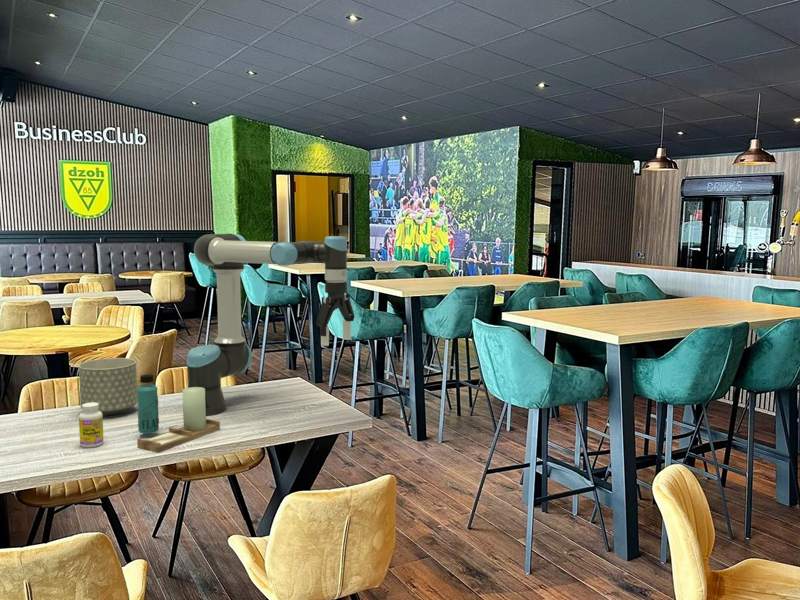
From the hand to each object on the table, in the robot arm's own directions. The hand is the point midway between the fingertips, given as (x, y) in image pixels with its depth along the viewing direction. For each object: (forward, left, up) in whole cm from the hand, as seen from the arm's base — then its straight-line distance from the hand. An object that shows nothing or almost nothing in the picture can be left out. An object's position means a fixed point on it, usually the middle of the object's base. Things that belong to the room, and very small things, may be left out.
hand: (336, 342), depth 226 cm
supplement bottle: (-52, -58, -28) cm, 83 cm away
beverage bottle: (-44, -43, -28) cm, 68 cm away
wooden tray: (-33, -40, -28) cm, 59 cm away
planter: (-77, -32, -28) cm, 88 cm away
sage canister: (-33, -34, -26) cm, 54 cm away
